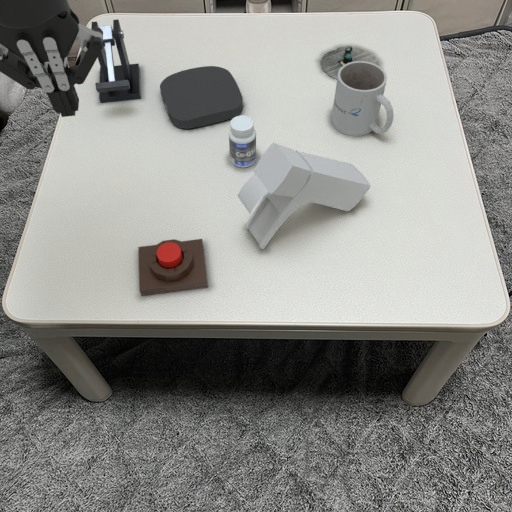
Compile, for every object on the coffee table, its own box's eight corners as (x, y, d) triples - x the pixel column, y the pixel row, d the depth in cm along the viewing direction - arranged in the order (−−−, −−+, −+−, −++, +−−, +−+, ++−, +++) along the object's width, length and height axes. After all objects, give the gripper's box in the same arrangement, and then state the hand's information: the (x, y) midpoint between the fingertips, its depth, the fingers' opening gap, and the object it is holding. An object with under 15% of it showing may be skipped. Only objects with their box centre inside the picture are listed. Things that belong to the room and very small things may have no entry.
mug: (322, 114, 100) (328, 70, 92) (359, 100, 102) (368, 55, 94) (359, 154, 94) (368, 110, 85) (397, 138, 96) (410, 93, 88)
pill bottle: (236, 171, 92) (234, 135, 85) (226, 154, 94) (223, 118, 87) (260, 163, 93) (260, 127, 86) (249, 146, 95) (248, 110, 88)
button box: (141, 296, 77) (137, 284, 75) (140, 253, 82) (136, 240, 79) (207, 287, 78) (205, 274, 75) (203, 244, 83) (200, 231, 80)
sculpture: (312, 73, 108) (322, 33, 105) (323, 79, 116) (333, 42, 114) (367, 86, 104) (379, 45, 102) (375, 91, 112) (386, 53, 110)
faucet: (373, 185, 83) (294, 164, 68) (312, 255, 91) (230, 249, 76) (350, 161, 86) (270, 135, 72) (294, 231, 94) (211, 220, 79)
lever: (130, 90, 97) (128, 84, 94) (98, 94, 96) (95, 88, 94) (123, 31, 98) (121, 23, 96) (92, 34, 98) (88, 27, 95)
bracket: (140, 98, 103) (126, 40, 93) (100, 102, 103) (81, 45, 92) (139, 68, 109) (126, 10, 98) (101, 72, 108) (83, 14, 98)
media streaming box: (248, 116, 100) (248, 104, 97) (175, 134, 97) (172, 121, 95) (225, 72, 108) (225, 59, 105) (157, 87, 105) (155, 75, 103)
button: (159, 270, 76) (156, 263, 75) (157, 250, 78) (155, 243, 77) (183, 266, 77) (181, 260, 75) (181, 247, 79) (180, 240, 77)
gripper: (85, -67, 49) (125, 85, 63) (-59, -55, 48) (15, 97, 62) (82, -27, 45) (126, 127, 59) (-76, -13, 44) (7, 140, 58)
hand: (69, 111), depth 61 cm, fingers closed
